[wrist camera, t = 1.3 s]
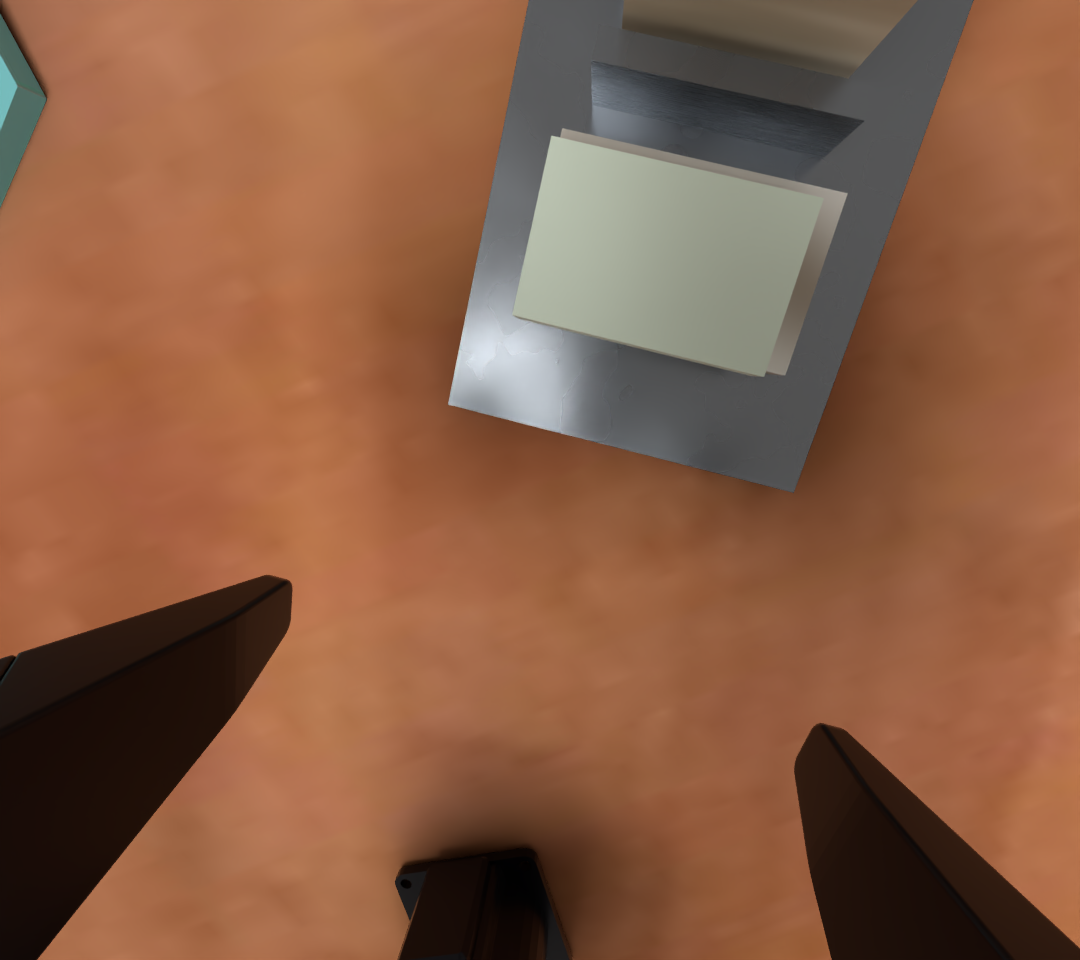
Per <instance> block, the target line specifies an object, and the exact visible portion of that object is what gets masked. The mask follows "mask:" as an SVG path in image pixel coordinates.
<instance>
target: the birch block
mask: <svg viewBox="0 0 1080 960" xmlns="http://www.w3.org/2000/svg"><path fill="white" fill-rule="evenodd" d="M917 1H918V0H624V5H623V19H622V29H624V30H628V31H633V32H638V33H642V34H647V35H651V36H656V37H661V38H665V39H670V40H674V41H679V42H683V43H688V44H693V45H697V46H702V47H706V48H711V49H716V50H720V51H725V52H729V53H734V54H738V55H743V56H748V57H752V58H757V59H761V60H766V61H771V62H775V63H780V64H784V65H789V66H793V67H798V68H803V69H807V70H812V71H816V72H821V73H826V74H830V75H835V76H839V77H844V78H849V77H850V76H851V75H852V74H853V73H854V72H855V70H856V69H857V68H858V67H859V66H860V65H861V64H862V63H863V61H864V60H865V59H866V58H867V57H868V56H869V55H870V54H871V52H872V51H873V50H874V49H875V48H876V47H877V46H878V45H879V43H880V42H881V41H882V40H883V39H884V38H885V37H886V36H887V34H888V33H889V32H890V31H891V30H892V29H893V28H894V27H895V25H896V24H897V23H898V22H899V21H900V20H901V19H902V18H903V16H904V15H905V14H906V13H907V12H908V11H909V10H910V9H911V7H912V6H913V5H914V4H915V3H916V2H917Z"/></svg>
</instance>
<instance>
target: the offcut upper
mask: <svg viewBox="0 0 1080 960" xmlns="http://www.w3.org/2000/svg"><path fill="white" fill-rule="evenodd" d="M823 200H824V198H822V197H817V196H813V195H809V194H804V193H800V192H795V191H791V190H787V189H782V188H778V187H774V186H769V185H765V184H761V183H756V182H752V181H747V180H743V179H739V178H734V177H730V176H726V175H721V174H717V173H713V172H708V171H704V170H699V169H695V168H691V167H686V166H682V165H678V164H673V163H669V162H665V161H660V160H656V159H651V158H647V157H643V156H638V155H634V154H630V153H625V152H621V151H617V150H612V149H608V148H603V147H599V146H595V145H590V144H586V143H582V142H577V141H573V140H569V139H564V138H560V137H555V136H551V140H550V145H549V149H548V154H547V158H546V163H545V167H544V172H543V176H542V181H541V186H540V190H539V195H538V199H537V204H536V208H535V213H534V217H533V222H532V227H531V231H530V236H529V240H528V245H527V249H526V254H525V259H524V263H523V268H522V272H521V277H520V281H519V286H518V290H517V295H516V300H515V304H514V309H513V313H512V315H513V316H515V317H517V318H519V319H521V320H525V321H529V322H533V323H538V324H542V325H546V326H550V327H554V328H558V329H562V330H566V331H570V332H574V333H578V334H582V335H586V336H590V337H594V338H598V339H603V340H607V341H611V342H615V343H619V344H623V345H627V346H631V347H635V348H639V349H643V350H647V351H651V352H655V353H659V354H663V355H668V356H672V357H676V358H680V359H684V360H688V361H692V362H696V363H700V364H704V365H708V366H712V367H716V368H720V369H724V370H728V371H732V372H737V373H741V374H745V375H749V376H759V377H764V376H765V373H766V370H767V367H768V364H769V361H770V358H771V355H772V352H773V349H774V346H775V343H776V340H777V337H778V334H779V331H780V328H781V325H782V322H783V319H784V316H785V313H786V310H787V307H788V304H789V301H790V298H791V295H792V292H793V289H794V286H795V283H796V280H797V277H798V274H799V271H800V268H801V265H802V262H803V259H804V256H805V253H806V250H807V247H808V244H809V241H810V238H811V235H812V232H813V229H814V226H815V223H816V220H817V217H818V214H819V211H820V208H821V205H822V203H823Z"/></svg>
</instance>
